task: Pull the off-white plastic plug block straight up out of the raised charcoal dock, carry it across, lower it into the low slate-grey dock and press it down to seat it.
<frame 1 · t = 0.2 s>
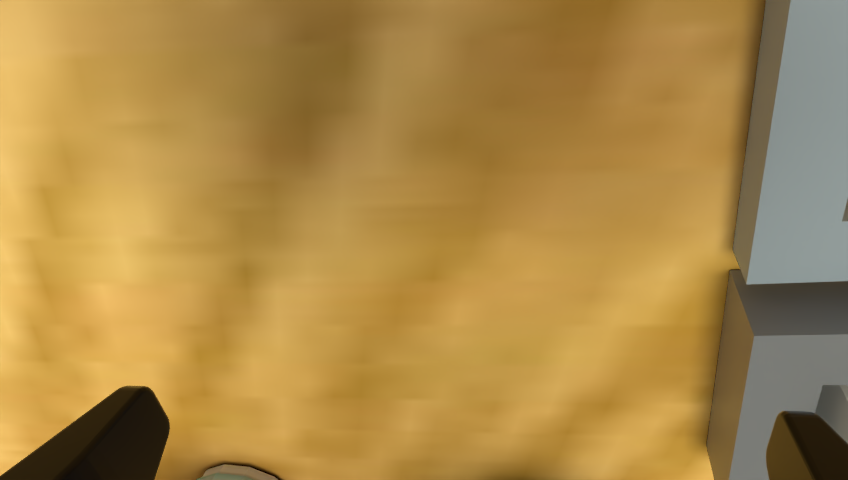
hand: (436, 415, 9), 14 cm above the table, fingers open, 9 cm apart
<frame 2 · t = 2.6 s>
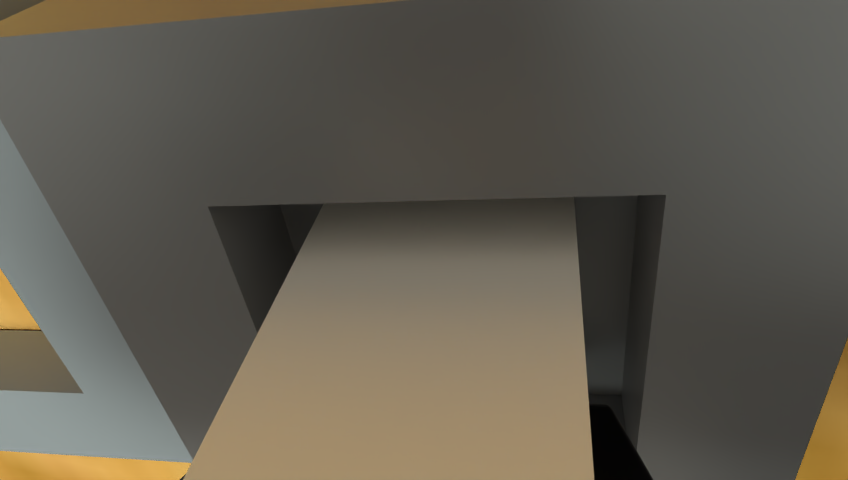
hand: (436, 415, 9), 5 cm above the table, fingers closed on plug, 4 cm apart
plug: (458, 280, 11), point 1 cm above the table, touching gripper, raised dock
raised dock: (466, 232, 13), on the table
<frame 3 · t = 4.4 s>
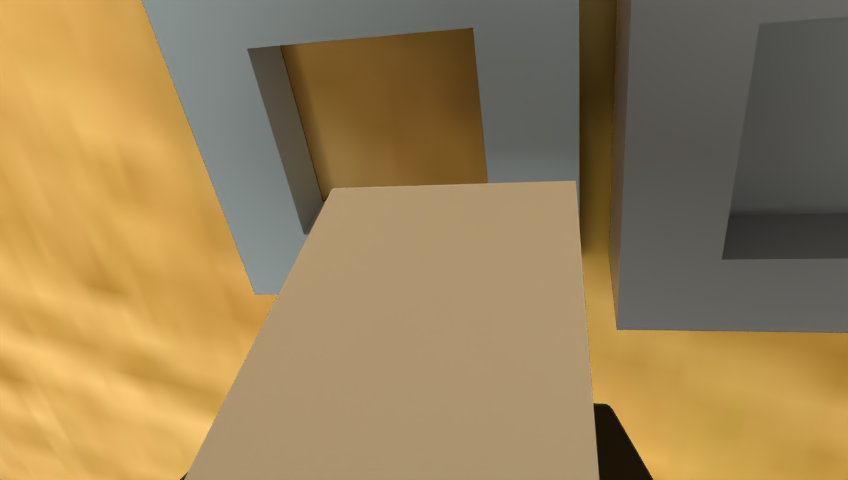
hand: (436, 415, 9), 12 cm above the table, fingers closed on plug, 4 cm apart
low dock: (392, 114, 19), on the table
plug: (460, 279, 11), point 9 cm above the table, touching gripper
raised dock: (831, 87, 16), on the table
when the fingers open (4 cm above the table, at t = 6.3 s): plug drops 1 cm, resting in low dock.
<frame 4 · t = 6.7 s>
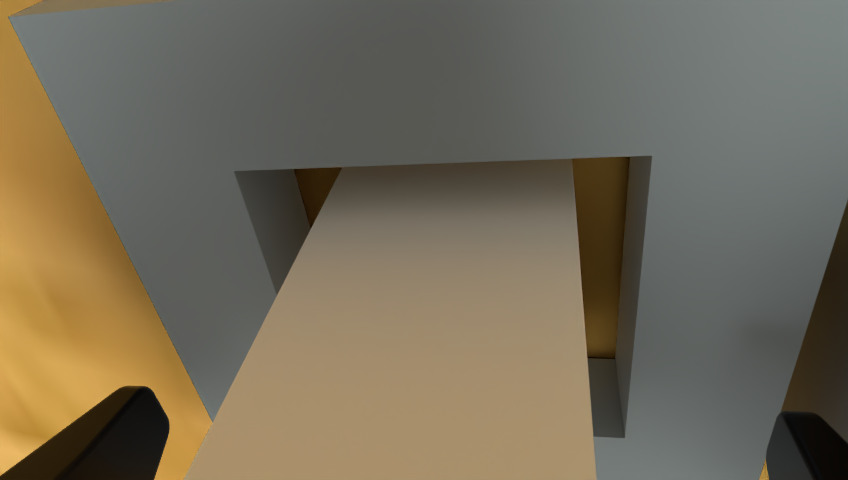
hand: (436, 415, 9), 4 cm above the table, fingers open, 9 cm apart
low dock: (462, 247, 12), on the table
plug: (465, 245, 12), resting in low dock
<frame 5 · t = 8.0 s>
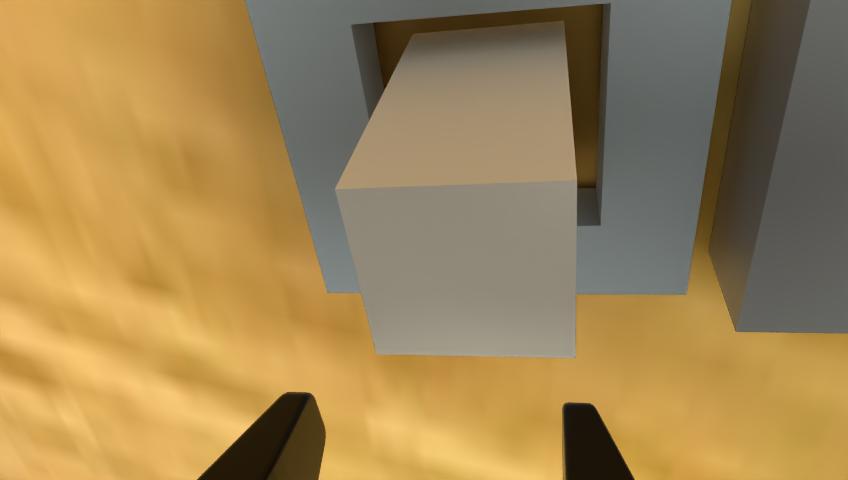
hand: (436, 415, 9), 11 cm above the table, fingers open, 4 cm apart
low dock: (489, 100, 18), on the table
plug: (491, 98, 18), resting in low dock
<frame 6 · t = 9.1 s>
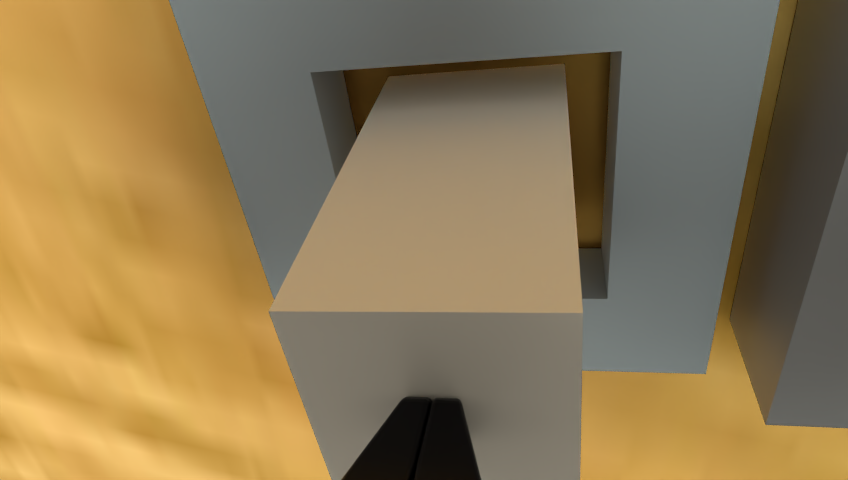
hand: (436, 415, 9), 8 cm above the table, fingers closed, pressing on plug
low dock: (478, 151, 15), on the table
plug: (481, 148, 15), resting in low dock, touching gripper
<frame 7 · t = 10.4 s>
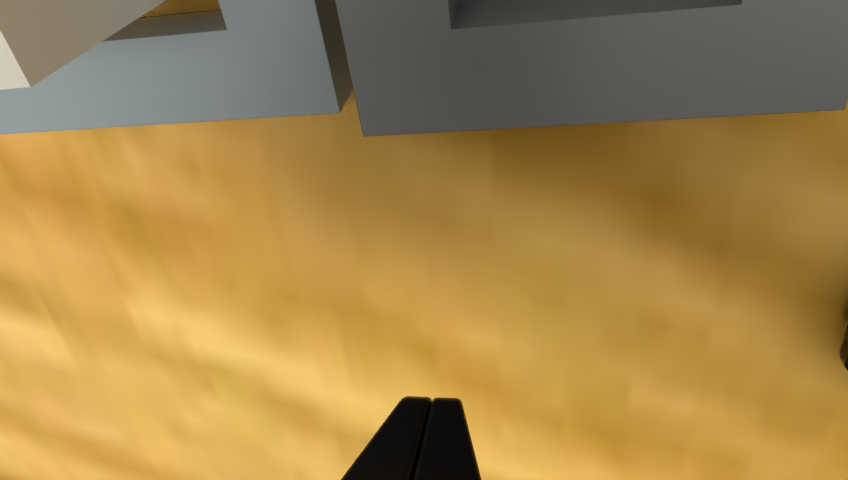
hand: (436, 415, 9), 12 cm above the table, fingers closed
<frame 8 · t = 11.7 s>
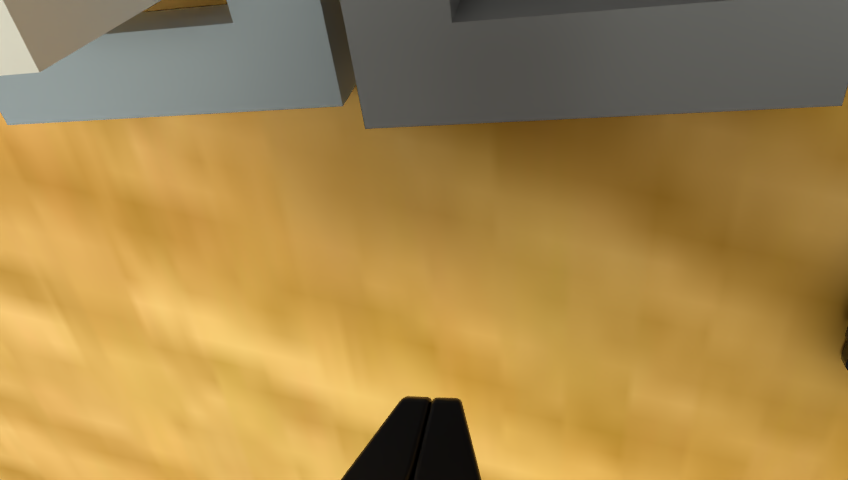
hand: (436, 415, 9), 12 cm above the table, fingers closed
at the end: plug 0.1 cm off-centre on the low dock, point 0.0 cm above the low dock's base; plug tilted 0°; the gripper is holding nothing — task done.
